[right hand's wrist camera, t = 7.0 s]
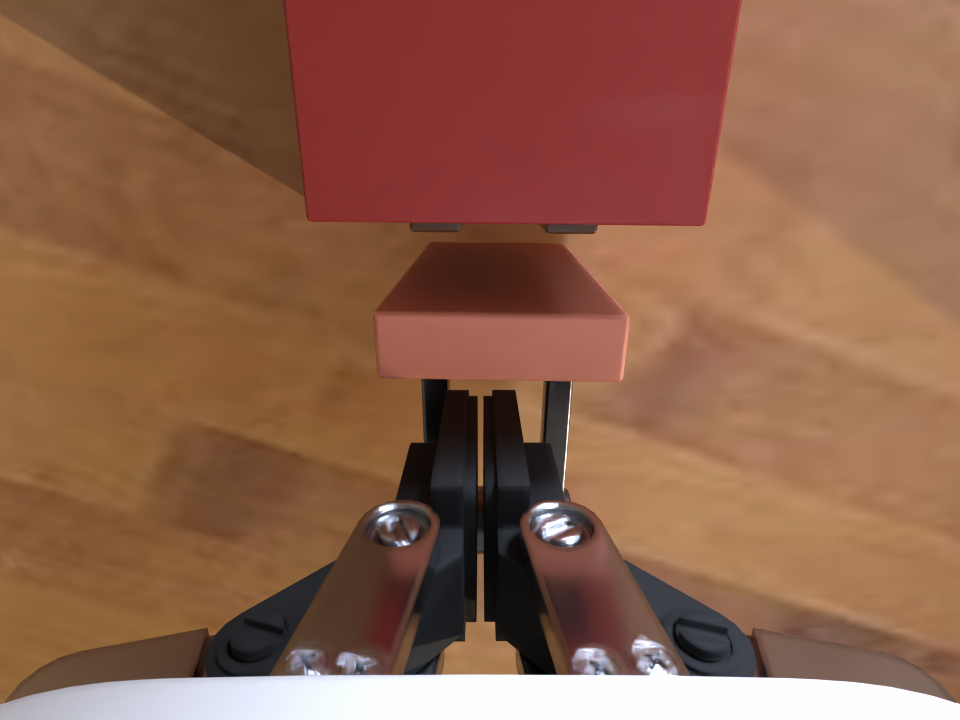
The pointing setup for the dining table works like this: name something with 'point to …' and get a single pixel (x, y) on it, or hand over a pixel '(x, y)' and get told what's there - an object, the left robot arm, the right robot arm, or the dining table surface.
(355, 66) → the cabinet
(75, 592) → the dining table surface
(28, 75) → the dining table surface
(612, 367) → the drawer
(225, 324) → the dining table surface
